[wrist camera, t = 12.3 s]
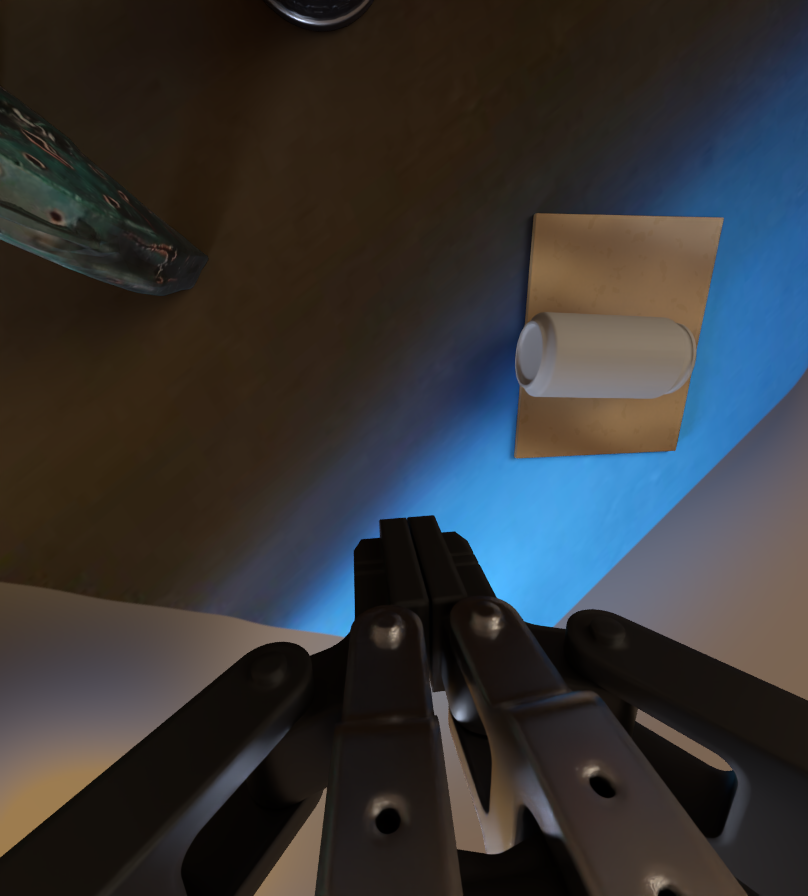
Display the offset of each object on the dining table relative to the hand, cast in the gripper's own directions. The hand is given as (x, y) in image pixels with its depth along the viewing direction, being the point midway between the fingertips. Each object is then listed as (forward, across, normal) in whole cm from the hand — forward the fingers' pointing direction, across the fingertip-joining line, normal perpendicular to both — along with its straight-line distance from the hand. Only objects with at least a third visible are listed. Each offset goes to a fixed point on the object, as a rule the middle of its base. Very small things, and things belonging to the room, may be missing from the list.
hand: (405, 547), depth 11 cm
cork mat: (+25, -21, -3) cm, 33 cm away
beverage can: (+21, -12, -3) cm, 25 cm away
